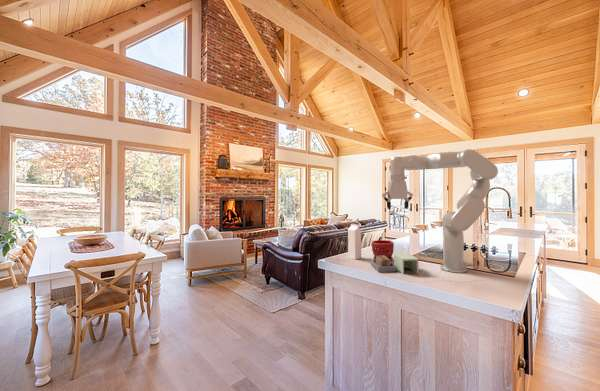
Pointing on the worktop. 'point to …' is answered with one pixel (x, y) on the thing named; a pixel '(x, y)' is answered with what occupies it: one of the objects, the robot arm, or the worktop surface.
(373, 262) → the tray
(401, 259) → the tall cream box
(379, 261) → the block
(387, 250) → the plant pot
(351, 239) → the milk
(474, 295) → the worktop surface
